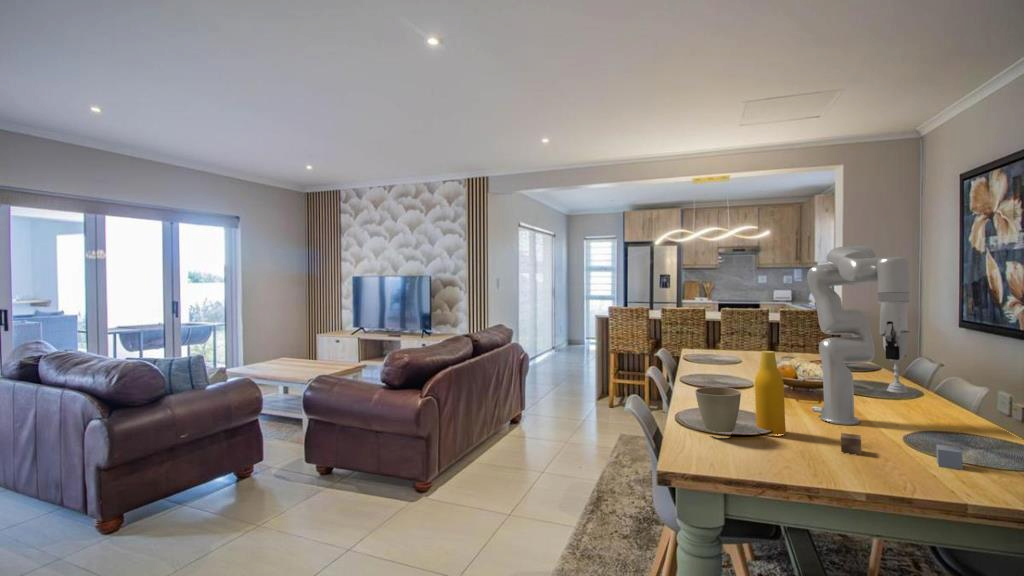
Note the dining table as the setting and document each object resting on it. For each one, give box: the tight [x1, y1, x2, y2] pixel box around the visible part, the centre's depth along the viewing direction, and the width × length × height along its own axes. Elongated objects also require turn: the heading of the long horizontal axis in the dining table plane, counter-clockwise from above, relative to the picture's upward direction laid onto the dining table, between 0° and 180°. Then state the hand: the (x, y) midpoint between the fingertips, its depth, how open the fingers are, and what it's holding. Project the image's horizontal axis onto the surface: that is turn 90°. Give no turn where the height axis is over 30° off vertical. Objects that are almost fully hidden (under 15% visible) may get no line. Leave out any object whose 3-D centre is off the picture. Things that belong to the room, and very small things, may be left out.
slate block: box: [935, 444, 964, 471], centre depth 136 cm, size 5×5×5 cm
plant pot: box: [694, 386, 742, 432], centre depth 170 cm, size 15×15×16 cm
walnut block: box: [840, 432, 862, 456], centre depth 150 cm, size 5×5×5 cm
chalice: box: [882, 330, 911, 394], centre depth 144 cm, size 7×7×18 cm
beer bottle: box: [754, 350, 787, 435], centre depth 171 cm, size 9×9×29 cm
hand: (896, 357), depth 144 cm, fingers closed on chalice, 6 cm apart
